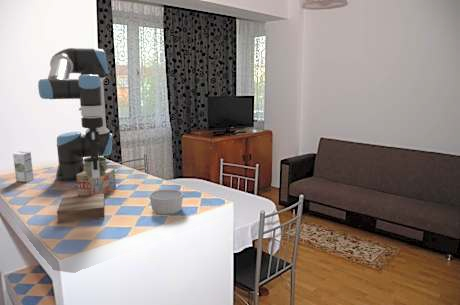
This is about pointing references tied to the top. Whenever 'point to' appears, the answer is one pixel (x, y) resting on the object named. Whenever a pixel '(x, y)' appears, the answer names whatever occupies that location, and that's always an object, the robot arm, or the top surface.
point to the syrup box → (23, 166)
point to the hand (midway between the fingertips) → (96, 173)
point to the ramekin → (166, 201)
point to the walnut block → (81, 208)
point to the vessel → (101, 166)
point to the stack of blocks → (96, 183)
